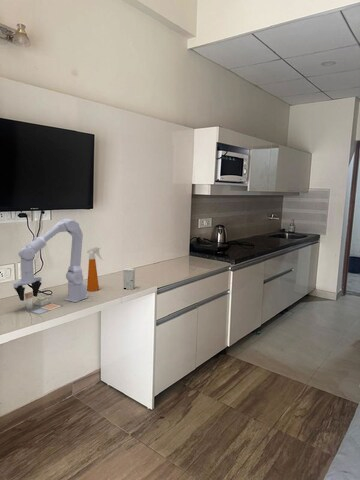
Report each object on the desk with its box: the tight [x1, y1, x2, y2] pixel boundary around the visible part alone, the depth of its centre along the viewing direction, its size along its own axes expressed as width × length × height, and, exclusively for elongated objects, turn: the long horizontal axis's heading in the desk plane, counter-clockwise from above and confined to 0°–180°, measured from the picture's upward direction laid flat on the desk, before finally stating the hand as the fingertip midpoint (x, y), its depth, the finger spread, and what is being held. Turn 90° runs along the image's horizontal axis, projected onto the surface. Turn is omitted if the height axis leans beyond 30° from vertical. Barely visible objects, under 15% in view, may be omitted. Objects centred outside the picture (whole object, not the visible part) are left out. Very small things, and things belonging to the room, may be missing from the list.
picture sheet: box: [18, 302, 64, 315], centre depth 174 cm, size 15×15×1 cm
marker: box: [24, 292, 34, 309], centre depth 172 cm, size 3×3×8 cm
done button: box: [37, 296, 47, 302], centre depth 179 cm, size 3×3×2 cm
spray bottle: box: [86, 246, 104, 292], centre depth 203 cm, size 7×11×26 cm, turn 71°
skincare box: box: [122, 267, 136, 290], centre depth 208 cm, size 6×4×12 cm
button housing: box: [34, 298, 50, 306], centre depth 179 cm, size 5×5×2 cm
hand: (28, 298), depth 172 cm, fingers open, 7 cm apart
